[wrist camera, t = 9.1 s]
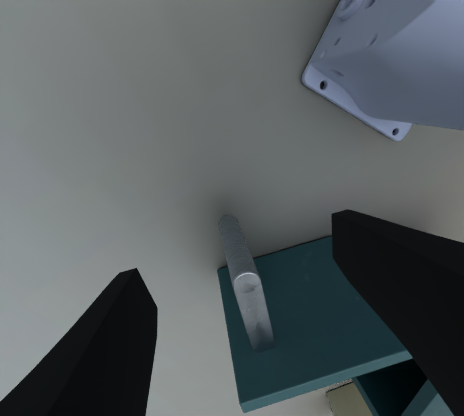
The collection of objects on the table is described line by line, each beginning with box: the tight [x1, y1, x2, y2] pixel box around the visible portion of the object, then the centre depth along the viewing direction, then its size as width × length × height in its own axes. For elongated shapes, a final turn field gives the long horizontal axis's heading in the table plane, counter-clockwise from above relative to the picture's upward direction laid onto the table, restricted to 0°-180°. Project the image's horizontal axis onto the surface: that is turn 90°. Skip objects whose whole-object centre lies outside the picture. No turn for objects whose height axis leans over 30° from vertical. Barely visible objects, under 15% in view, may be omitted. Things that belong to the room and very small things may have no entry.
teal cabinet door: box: [218, 215, 413, 413], centre depth 16 cm, size 7×13×10 cm, turn 103°
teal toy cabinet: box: [352, 358, 454, 416], centre depth 21 cm, size 8×13×11 cm, turn 174°
